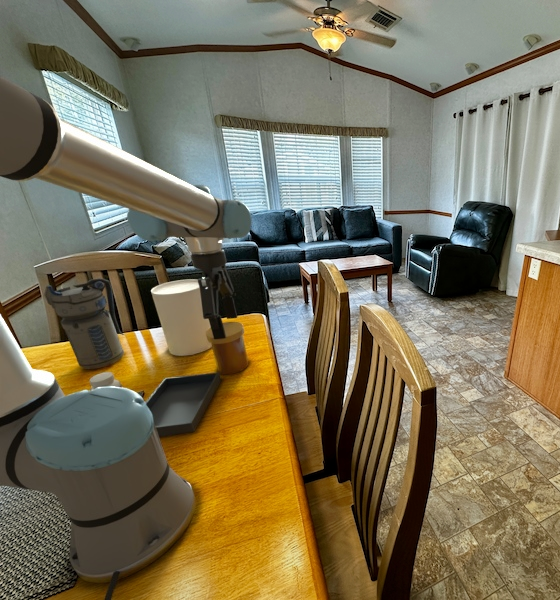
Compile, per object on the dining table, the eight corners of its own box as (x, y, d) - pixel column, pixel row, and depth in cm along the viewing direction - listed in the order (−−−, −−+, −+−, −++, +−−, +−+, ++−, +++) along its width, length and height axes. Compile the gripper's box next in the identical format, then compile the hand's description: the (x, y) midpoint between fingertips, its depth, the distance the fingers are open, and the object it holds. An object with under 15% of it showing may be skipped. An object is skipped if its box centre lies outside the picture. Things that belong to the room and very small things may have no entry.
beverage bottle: (140, 355, 100) (113, 277, 90) (84, 376, 89) (47, 291, 80) (126, 346, 105) (100, 271, 96) (72, 365, 95) (36, 284, 85)
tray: (194, 432, 70) (191, 422, 69) (124, 441, 68) (121, 432, 67) (221, 379, 88) (219, 371, 87) (167, 385, 85) (164, 377, 84)
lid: (239, 341, 86) (238, 336, 86) (202, 345, 85) (200, 339, 84) (247, 325, 95) (246, 320, 94) (213, 328, 93) (212, 323, 92)
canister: (160, 348, 104) (142, 289, 96) (203, 331, 114) (189, 277, 107) (183, 360, 97) (164, 297, 90) (226, 341, 108) (213, 283, 100)
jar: (245, 372, 91) (236, 336, 86) (214, 375, 89) (204, 339, 85) (251, 356, 98) (244, 322, 94) (222, 359, 97) (213, 325, 92)
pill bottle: (128, 414, 76) (114, 378, 72) (98, 423, 73) (82, 387, 69) (130, 401, 80) (117, 367, 76) (102, 409, 77) (87, 374, 73)
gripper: (207, 263, 72) (229, 348, 81) (235, 238, 93) (250, 308, 102) (169, 266, 70) (196, 352, 79) (206, 240, 91) (224, 310, 100)
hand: (226, 327), depth 90 cm, fingers open, 11 cm apart
